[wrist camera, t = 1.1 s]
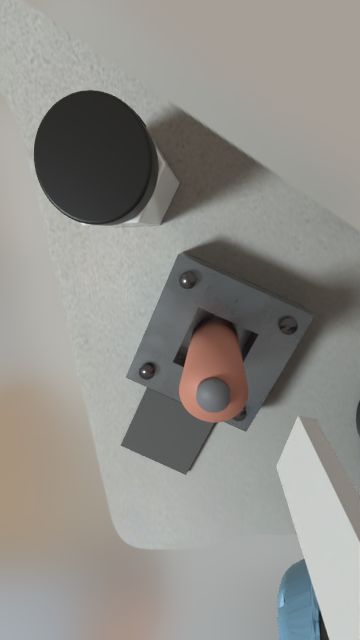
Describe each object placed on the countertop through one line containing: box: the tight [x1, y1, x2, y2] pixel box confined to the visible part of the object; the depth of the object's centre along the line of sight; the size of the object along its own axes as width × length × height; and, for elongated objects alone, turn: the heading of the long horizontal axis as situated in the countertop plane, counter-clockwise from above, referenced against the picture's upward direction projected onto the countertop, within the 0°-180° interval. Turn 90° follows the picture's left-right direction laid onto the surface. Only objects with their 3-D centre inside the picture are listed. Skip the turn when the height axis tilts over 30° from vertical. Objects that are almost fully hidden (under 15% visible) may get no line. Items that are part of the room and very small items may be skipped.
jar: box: [34, 90, 179, 228], centre depth 26 cm, size 9×8×12 cm
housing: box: [126, 252, 314, 431], centre depth 33 cm, size 14×14×5 cm
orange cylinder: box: [179, 317, 248, 422], centre depth 28 cm, size 5×5×13 cm
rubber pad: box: [121, 387, 215, 475], centre depth 39 cm, size 9×9×1 cm
